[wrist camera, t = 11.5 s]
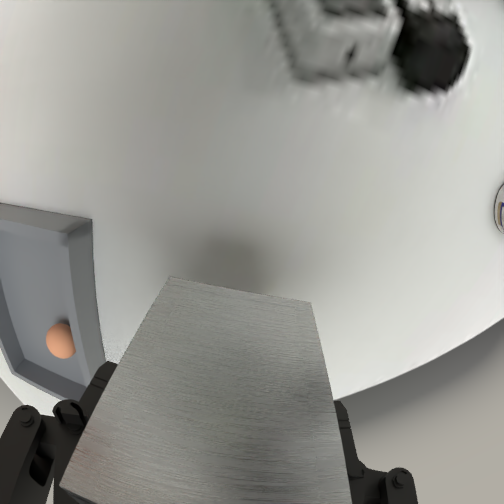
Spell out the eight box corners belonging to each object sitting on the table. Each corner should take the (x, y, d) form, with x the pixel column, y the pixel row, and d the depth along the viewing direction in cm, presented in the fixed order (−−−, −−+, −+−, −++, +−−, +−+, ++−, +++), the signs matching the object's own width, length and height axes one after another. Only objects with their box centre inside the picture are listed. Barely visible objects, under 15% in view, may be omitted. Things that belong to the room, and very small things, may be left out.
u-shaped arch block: (169, 276, 13) (58, 485, 3) (310, 302, 13) (355, 531, 4) (167, 373, 15) (116, 531, 6) (277, 392, 15) (279, 557, 6)
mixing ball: (36, 332, 21) (47, 364, 20) (52, 316, 21) (64, 350, 20) (60, 332, 25) (71, 362, 24) (77, 318, 25) (89, 349, 24)
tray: (-12, 200, 20) (-34, 210, 16) (92, 219, 20) (67, 233, 17) (24, 358, 28) (11, 373, 25) (113, 396, 29) (103, 417, 25)
